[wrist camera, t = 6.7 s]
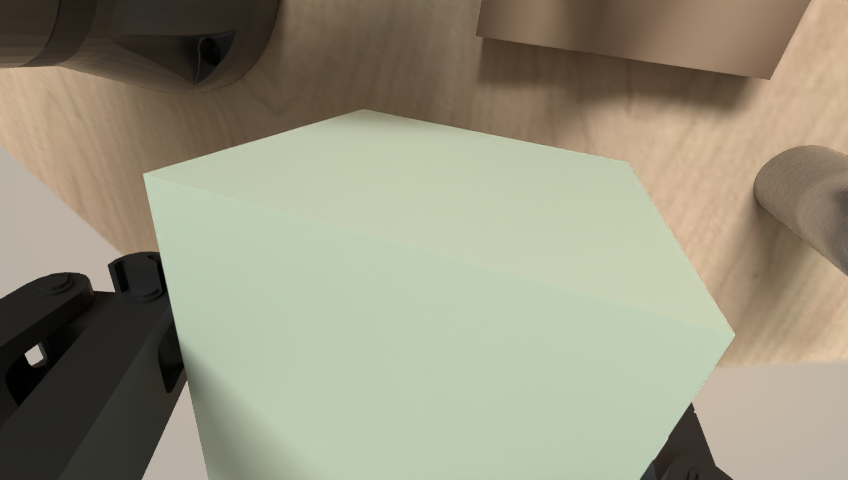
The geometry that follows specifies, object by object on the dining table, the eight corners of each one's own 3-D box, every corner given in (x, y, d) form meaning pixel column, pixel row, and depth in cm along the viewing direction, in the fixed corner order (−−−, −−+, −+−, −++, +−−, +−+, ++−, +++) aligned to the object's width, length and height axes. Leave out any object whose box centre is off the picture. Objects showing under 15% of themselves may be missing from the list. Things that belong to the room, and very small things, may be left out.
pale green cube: (351, 308, 18) (209, 484, 11) (362, 108, 14) (142, 173, 7) (546, 369, 16) (537, 633, 9) (628, 162, 12) (736, 334, 5)
